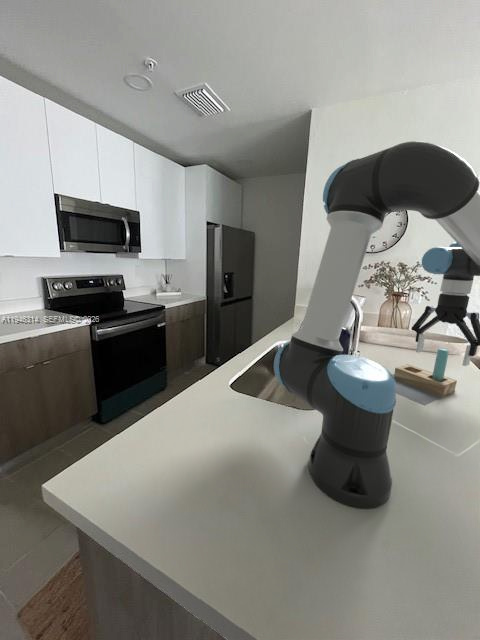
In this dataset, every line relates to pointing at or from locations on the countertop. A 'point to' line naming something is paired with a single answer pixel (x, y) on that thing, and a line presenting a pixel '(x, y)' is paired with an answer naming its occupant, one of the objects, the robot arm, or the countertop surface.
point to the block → (424, 380)
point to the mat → (415, 393)
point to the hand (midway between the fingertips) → (440, 358)
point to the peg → (440, 364)
